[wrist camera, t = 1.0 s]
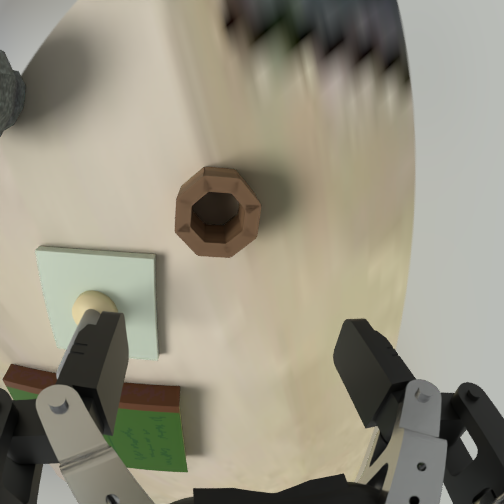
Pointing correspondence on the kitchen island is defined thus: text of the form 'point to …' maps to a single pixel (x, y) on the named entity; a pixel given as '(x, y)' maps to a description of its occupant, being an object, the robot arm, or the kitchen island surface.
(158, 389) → the hardcover book
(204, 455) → the kitchen island surface
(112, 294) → the post
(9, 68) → the mortar and pestle
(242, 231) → the ring
